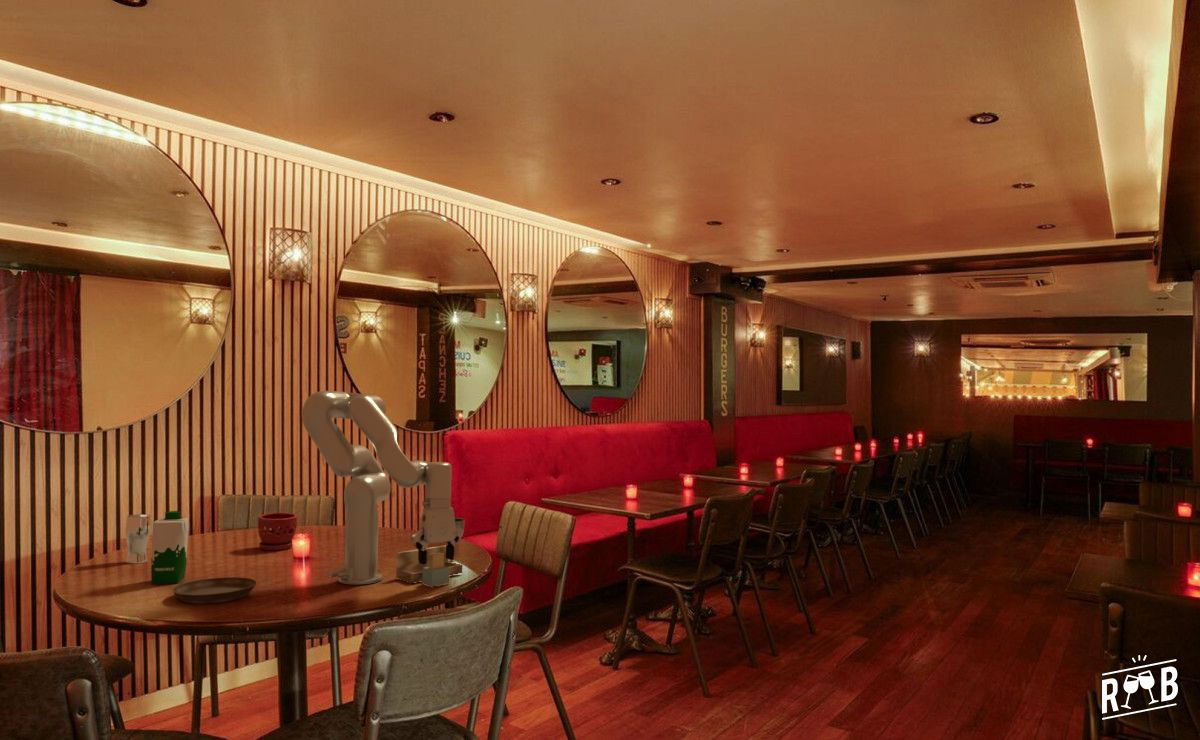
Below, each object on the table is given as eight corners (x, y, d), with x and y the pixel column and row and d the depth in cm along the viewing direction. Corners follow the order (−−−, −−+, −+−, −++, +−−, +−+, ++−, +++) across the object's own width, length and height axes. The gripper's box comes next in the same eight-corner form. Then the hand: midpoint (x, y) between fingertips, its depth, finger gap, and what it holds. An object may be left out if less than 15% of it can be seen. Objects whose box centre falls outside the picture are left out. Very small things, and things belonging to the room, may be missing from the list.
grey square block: (431, 587, 219) (432, 556, 220) (422, 584, 223) (423, 554, 223) (448, 584, 224) (449, 554, 224) (439, 581, 227) (440, 551, 228)
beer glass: (153, 560, 249) (155, 514, 249) (138, 564, 242) (141, 517, 242) (134, 559, 249) (136, 513, 250) (118, 563, 242) (121, 517, 243)
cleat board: (412, 584, 223) (413, 557, 223) (396, 578, 229) (396, 552, 229) (462, 574, 236) (462, 549, 236) (445, 570, 242) (446, 545, 243)
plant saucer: (162, 595, 206) (162, 583, 206) (240, 584, 220) (241, 572, 220) (185, 611, 191) (185, 598, 191) (267, 598, 206) (268, 585, 206)
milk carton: (188, 577, 226) (191, 510, 227) (180, 584, 217) (183, 515, 218) (156, 578, 224) (159, 511, 225) (146, 585, 215) (149, 515, 216)
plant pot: (248, 550, 267) (250, 516, 268) (274, 543, 280) (275, 511, 280) (279, 553, 264) (280, 518, 264) (303, 546, 276) (305, 513, 277)
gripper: (420, 507, 215) (418, 567, 215) (469, 502, 228) (467, 559, 227) (405, 504, 221) (404, 563, 220) (454, 500, 233) (453, 555, 232)
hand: (436, 561), depth 224 cm, fingers open, 9 cm apart
